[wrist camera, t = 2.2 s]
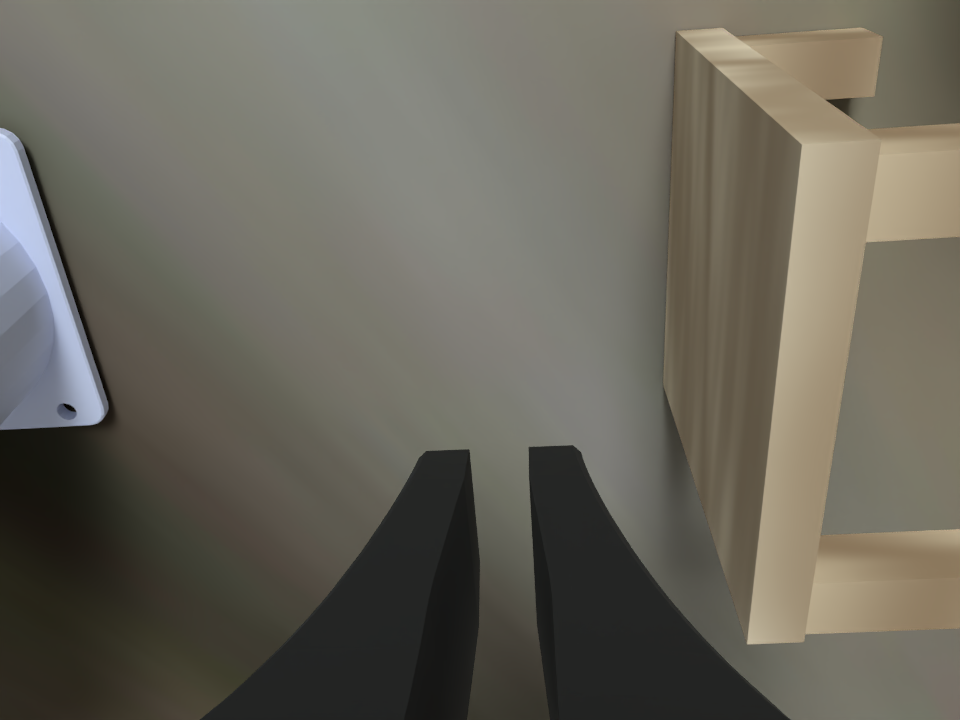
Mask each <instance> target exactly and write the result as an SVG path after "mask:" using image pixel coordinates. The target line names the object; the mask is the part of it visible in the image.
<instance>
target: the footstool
mask: <svg viewBox="0 0 960 720" xmlns="http://www.w3.org/2000/svg"><path fill="white" fill-rule="evenodd" d="M882 40H883V37H882V36H880V35H878V34H875V33H873V32H871V31H869V30H866V29H864V28H848V29H834V30H820V31H806V32H792V33H778V34H764V35H750V36H736V37H735V36H733V35H732V34H731V33H729V32H728V31H726V30H725V29H723V28H713V29H699V30H685V31H676V45H675V73H674V100H673V127H672V154H671V182H670V209H669V236H668V263H667V291H666V318H665V345H664V372H663V386H664V389H665V392H666V395H667V398H668V402H669V405H670V408H671V411H672V414H673V417H674V420H675V423H676V426H677V429H678V432H679V436H680V439H681V442H682V445H683V448H684V451H685V454H686V457H687V460H688V463H689V467H690V470H691V473H692V476H693V479H694V482H695V485H696V488H697V491H698V494H699V497H700V501H701V504H702V507H703V510H704V513H705V516H706V519H707V522H708V525H709V528H710V531H711V535H712V538H713V541H714V544H715V547H716V550H717V553H718V556H719V559H720V562H721V565H722V569H723V572H724V575H725V578H726V581H727V584H728V587H729V590H730V593H731V596H732V599H733V603H734V606H735V609H736V612H737V615H738V618H739V621H740V624H741V627H742V630H743V634H744V637H745V640H746V643H747V644H769V643H796V642H804V638H805V634H822V633H848V632H875V631H901V630H928V629H954V628H960V529H954V530H931V531H908V532H885V533H862V534H839V535H821V529H822V522H823V516H824V509H825V503H826V496H827V490H828V483H829V477H830V470H831V464H832V457H833V451H834V445H835V438H836V432H837V425H838V419H839V412H840V406H841V399H842V393H843V386H844V380H845V373H846V367H847V361H848V354H849V348H850V341H851V335H852V328H853V322H854V315H855V309H856V302H857V296H858V289H859V283H860V276H861V270H862V264H863V257H864V251H865V244H866V242H879V241H896V240H913V239H929V238H946V237H960V123H956V124H940V125H925V126H910V127H895V128H879V129H866V128H865V127H863V126H862V125H860V124H859V123H857V122H856V121H855V120H853V119H852V118H850V117H849V116H847V115H846V114H845V113H843V112H842V111H840V110H839V109H837V108H836V107H835V106H833V105H832V104H830V103H829V102H827V101H826V100H828V99H843V98H858V97H873V96H874V95H875V88H876V81H877V74H878V68H879V61H880V54H881V47H882Z"/></svg>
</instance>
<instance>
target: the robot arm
mask: <svg viewBox="0 0 960 720" xmlns="http://www.w3.org/2000/svg"><path fill="white" fill-rule="evenodd" d="M63 403H65V404H70V405H71V406H73V407H74V408H75V410H76V412H72V411H69V410H68V409H66V408H65V406H64V405H63ZM108 409H109V407H108V401H107V398H106V395H105V392H104V389H103V386H102V383H101V380H100V377H99V374H98V371H97V368H96V365H95V362H94V359H93V356H92V353H91V350H90V347H89V343H88V340H87V337H86V334H85V331H84V328H83V325H82V322H81V319H80V316H79V313H78V310H77V307H76V304H75V301H74V298H73V295H72V292H71V289H70V286H69V283H68V280H67V277H66V274H65V271H64V268H63V265H62V262H61V259H60V255H59V252H58V249H57V246H56V243H55V240H54V237H53V234H52V231H51V228H50V225H49V222H48V219H47V216H46V213H45V210H44V207H43V204H42V201H41V198H40V195H39V192H38V189H37V186H36V183H35V180H34V177H33V174H32V170H31V167H30V164H29V161H28V158H27V155H26V152H25V149H24V147H23V145H22V143H21V141H20V139H18V138H17V137H16V136H15V135H14V134H13V133H12V132H10V131H8V130H6V129H2V128H0V430H10V429H29V428H48V427H68V426H87V425H94V424H98V423H99V422H100V421H102V420H103V418H104V417H105V415H106V414H107V412H108ZM529 482H530V500H531V519H532V537H533V556H534V575H535V593H536V612H537V627H538V634H539V641H540V649H541V656H542V663H543V671H544V678H545V685H546V692H547V699H548V707H549V714H550V720H790V719H789V718H788V717H787V716H785V715H784V714H783V713H782V712H781V711H780V710H779V709H778V708H777V707H776V706H774V705H773V704H772V703H771V702H770V701H769V700H768V699H767V698H766V697H765V696H763V695H762V694H761V693H760V692H759V691H758V690H757V689H756V688H755V687H753V686H752V685H751V684H750V683H749V682H748V681H747V680H746V679H745V678H744V677H742V676H741V675H740V674H739V673H738V672H737V671H736V670H735V669H734V668H733V667H732V666H731V665H729V664H728V663H727V662H726V660H725V659H724V658H723V657H722V656H721V655H720V654H719V653H718V652H717V651H716V650H715V649H714V648H713V647H712V646H711V645H710V644H709V643H708V642H707V641H706V640H705V639H704V638H703V637H702V636H701V634H700V633H699V632H698V631H697V630H696V629H695V628H694V627H693V626H692V624H691V623H690V622H689V621H688V620H687V619H686V618H685V617H684V615H683V614H682V613H681V612H680V611H679V610H678V608H677V607H676V606H675V605H674V604H673V602H672V601H671V600H670V599H669V598H668V596H667V595H666V594H665V593H664V591H663V590H662V589H661V588H660V586H659V585H658V584H657V582H656V581H655V580H654V578H653V577H652V576H651V574H650V573H649V572H648V570H647V569H646V568H645V566H644V565H643V564H642V562H641V561H640V559H639V558H638V556H637V555H636V553H635V552H634V551H633V549H632V548H631V546H630V545H629V543H628V542H627V540H626V538H625V537H624V535H623V534H622V532H621V531H620V529H619V527H618V526H617V524H616V523H615V521H614V520H613V518H612V516H611V515H610V513H609V511H608V510H607V508H606V506H605V504H604V503H603V501H602V499H601V497H600V495H599V493H598V491H597V490H596V488H595V486H594V484H593V482H592V480H591V477H590V475H589V473H588V471H587V468H586V466H585V463H584V461H583V458H582V454H581V452H580V451H579V450H578V449H577V448H575V447H574V446H573V445H570V446H545V447H529ZM479 581H480V558H479V548H478V537H477V526H476V516H475V505H474V494H473V484H472V473H471V462H470V452H469V449H468V450H443V451H426V452H425V453H424V454H423V455H422V456H421V457H420V458H419V459H418V461H417V463H416V465H415V467H414V469H413V471H412V473H411V475H410V477H409V478H408V480H407V482H406V484H405V485H404V487H403V489H402V491H401V492H400V494H399V496H398V497H397V499H396V500H395V502H394V504H393V505H392V507H391V509H390V510H389V512H388V513H387V515H386V516H385V518H384V519H383V521H382V522H381V524H380V525H379V527H378V528H377V530H376V531H375V533H374V534H373V536H372V537H371V539H370V540H369V542H368V543H367V545H366V546H365V547H364V549H363V550H362V552H361V553H360V554H359V556H358V557H357V558H356V560H355V561H354V562H353V563H352V565H351V566H350V567H349V569H348V570H347V571H346V572H345V574H344V575H343V576H342V578H341V579H340V580H339V582H338V583H337V584H336V585H335V587H334V588H333V589H332V591H331V592H330V593H329V594H328V595H327V597H326V598H325V599H324V600H323V601H322V603H321V604H320V605H319V606H318V607H317V608H316V610H315V611H314V612H313V613H312V614H311V615H310V616H309V618H308V619H307V620H306V621H305V622H304V623H303V624H302V625H301V626H300V627H299V628H298V629H297V631H296V632H295V633H294V634H293V635H292V636H291V637H290V638H289V639H288V640H287V641H286V642H285V643H284V644H283V645H282V646H281V647H280V648H279V649H278V650H277V651H276V652H275V653H274V654H273V655H272V656H271V657H270V658H269V659H268V660H267V661H266V662H265V663H264V664H263V665H262V666H261V667H260V668H259V669H258V670H257V671H256V672H254V673H253V674H252V675H251V676H250V677H249V678H248V679H247V680H246V681H245V682H244V683H243V684H242V685H241V686H239V687H238V688H237V689H236V690H235V691H234V692H233V693H232V694H230V695H229V696H228V697H227V698H226V699H225V700H224V701H222V702H221V703H220V704H219V705H217V706H216V707H215V708H214V709H212V710H211V711H210V712H209V713H208V714H206V715H205V716H204V717H203V718H201V719H200V720H467V714H468V706H469V699H470V691H471V683H472V676H473V668H474V660H475V652H476V644H477V636H478V628H479Z"/></svg>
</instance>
